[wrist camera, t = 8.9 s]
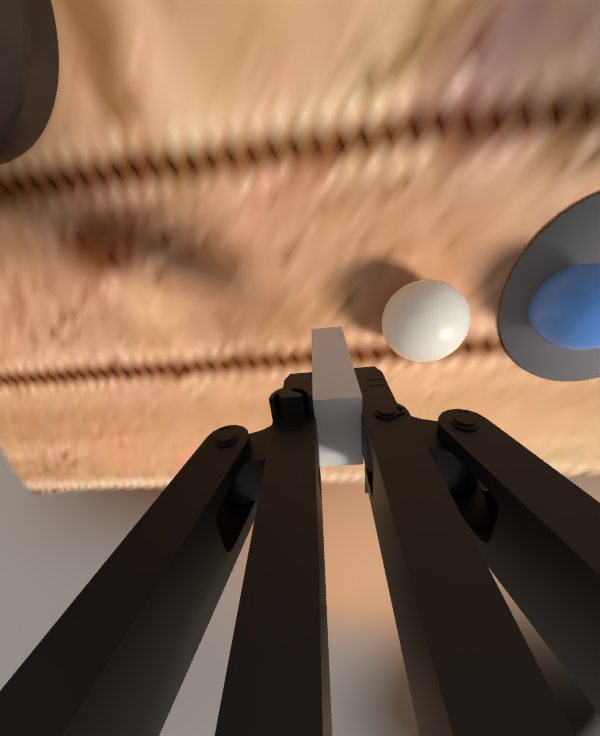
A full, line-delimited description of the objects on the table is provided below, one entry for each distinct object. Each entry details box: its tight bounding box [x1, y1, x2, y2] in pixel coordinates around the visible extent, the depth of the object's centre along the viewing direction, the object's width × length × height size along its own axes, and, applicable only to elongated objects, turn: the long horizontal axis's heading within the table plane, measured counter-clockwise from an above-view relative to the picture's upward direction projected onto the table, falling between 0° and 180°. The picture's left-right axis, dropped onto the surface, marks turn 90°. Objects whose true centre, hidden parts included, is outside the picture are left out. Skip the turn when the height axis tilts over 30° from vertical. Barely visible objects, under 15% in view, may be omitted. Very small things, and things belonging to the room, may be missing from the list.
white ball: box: [382, 279, 470, 362], centre depth 20 cm, size 6×6×6 cm
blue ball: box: [529, 263, 600, 350], centre depth 19 cm, size 6×6×6 cm
